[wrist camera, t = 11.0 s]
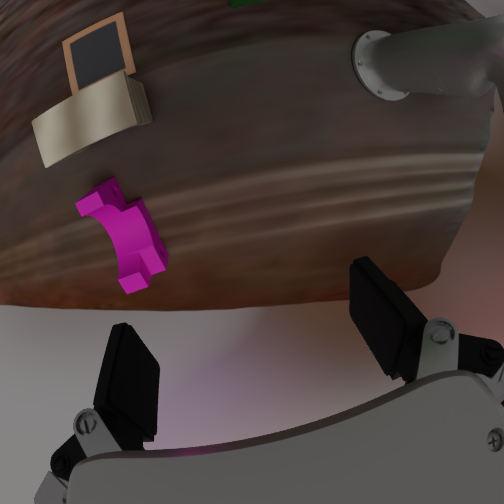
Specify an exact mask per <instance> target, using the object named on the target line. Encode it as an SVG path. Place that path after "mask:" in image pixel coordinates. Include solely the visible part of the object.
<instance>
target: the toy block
mask: <svg viewBox="0 0 504 504" xmlns="http://www.w3.org/2000/svg"><path fill="white" fill-rule="evenodd" d="M75 204H76V206H77V208H78V210H79V212H80V214H81V216H82V217H83V216H85V215H90V216H93V217H95V218H96V219H98V220H99V221H100V222H101V223H102V224H103V226H104V227H105V228H106V230H107V232H108V233H109V235H110V237H111V239H112V241H113V244H114V247H115V250H116V253H117V257H118V264H119V276H118V281H119V283H120V284H121V286H122V287H123V289H124V290H125V292H126V293H127V294H129V293H132V292H135V291H138V290H140V289H143V288H146V287H148V286H149V282H150V279H151V275H153V274H155V273H158V272H161V271H164V270H166V267H167V262H168V257H169V255H168V253H167V251H166V249H165V247H164V245H163V243H162V241H161V239H160V237H159V235H158V233H157V230H156V228H155V226H154V224H153V222H152V220H151V218H150V216H149V214H148V211H147V209H146V207H145V205H144V203H143V201H142V198H141V199H138V200H136V201H134V202H132V203H129V204H127V203H126V201H125V198H124V196H123V194H122V192H121V190H120V187H119V185H118V183H117V181H116V178H115V177H114V178H112V179H110V180H108V181H106V182H104V183H102V184H100V185H98V186H96V187H94V188H93V189H92V190H91V191H89V192H88V193H87V194H86V195H85V196H83V197H82V198H81V199H80V200H79V201H77V202H76V203H75Z"/></svg>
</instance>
